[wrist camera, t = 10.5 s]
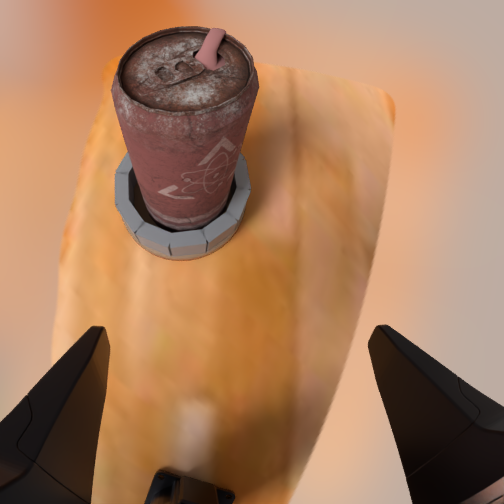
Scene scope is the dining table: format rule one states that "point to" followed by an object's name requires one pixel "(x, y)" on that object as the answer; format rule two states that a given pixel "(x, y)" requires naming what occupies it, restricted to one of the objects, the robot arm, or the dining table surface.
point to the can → (185, 120)
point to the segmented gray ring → (186, 242)
